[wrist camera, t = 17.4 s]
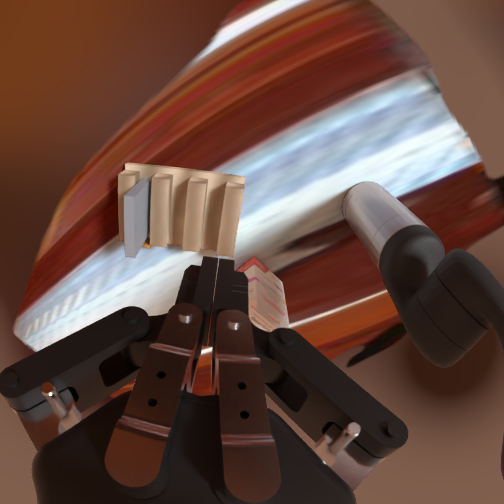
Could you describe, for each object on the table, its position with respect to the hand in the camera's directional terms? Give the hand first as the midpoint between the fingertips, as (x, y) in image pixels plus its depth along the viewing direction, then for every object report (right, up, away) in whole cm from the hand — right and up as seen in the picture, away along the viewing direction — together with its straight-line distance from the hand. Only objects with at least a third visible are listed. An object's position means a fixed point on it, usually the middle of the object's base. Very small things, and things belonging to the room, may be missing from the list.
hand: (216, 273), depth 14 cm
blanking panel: (-16, +9, +34) cm, 39 cm away
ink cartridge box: (+3, -4, +43) cm, 43 cm away
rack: (-11, +9, +35) cm, 38 cm away
